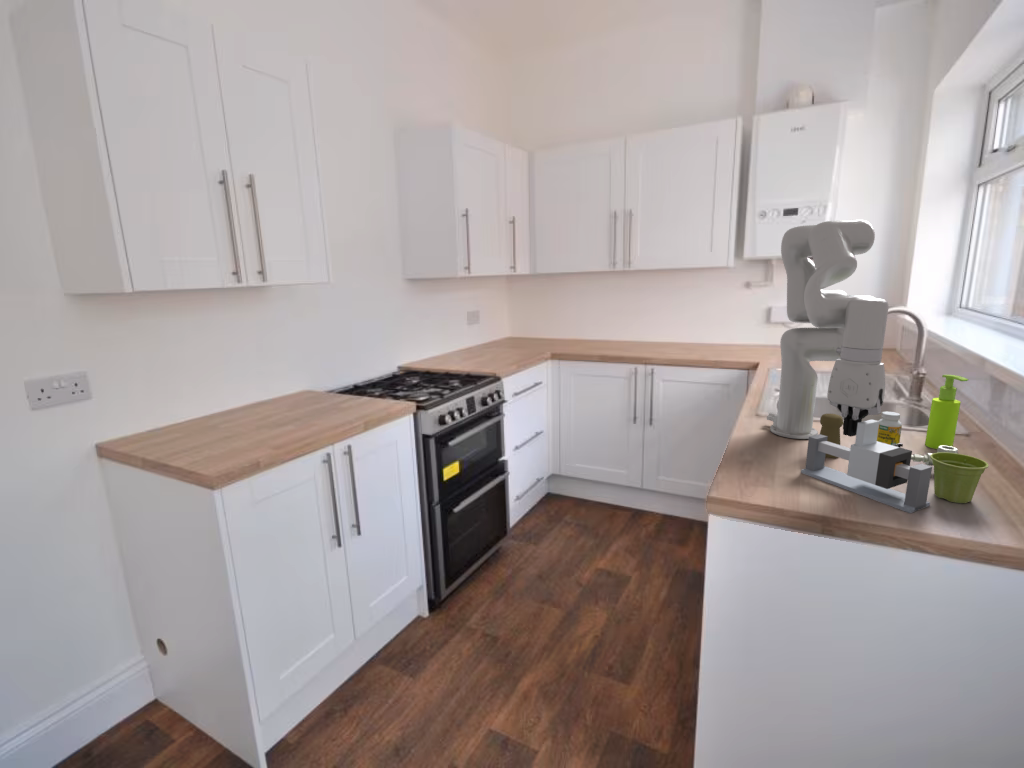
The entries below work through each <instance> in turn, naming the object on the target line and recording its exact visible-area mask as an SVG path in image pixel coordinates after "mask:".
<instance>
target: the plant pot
mask: <svg viewBox="0 0 1024 768" xmlns="http://www.w3.org/2000/svg"><path fill="white" fill-rule="evenodd" d="M930 458H931V459H932V463H933V465H932V466H933V478H934V479H933V481H934V482H933V483H934V485H933V489H934V490H933V491H934V495H935V496H936V497H937V498H939V499H945V500H947V502H951V503H956V504H957V503H958V504H967V503H968V502H972V500H973V498H974V496H975V491H976V489H977V487H978V484H979V482H980V480H981V476H982V475H983V474H984V472H985V470H986V469H988V468H989V463H988V462H987V461H985V460H983V459H980V458H978V457H974V456H972V455H968V454H962V453H958V452H957V453H948V452H938V453H937V452H933V453H932V454H931V455H930Z"/></svg>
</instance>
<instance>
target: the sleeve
mask: <svg viewBox="0 0 1024 768" xmlns="http://www.w3.org/2000/svg"><path fill="white" fill-rule="evenodd" d="M878 428H879V420H877V419H873V418H872V419H868V420H862V422H858V425H857V433H856V436H855V440H854V441H855V442H854V443H852V444H850V447H849V448H850V456H849V461H848V465H847V473H846V474H847V475H848V476H851V477H854V478H856V479H859V480H862V481H865V482H868V483H871V484H874V485H875V482H876V475H877V468H878V461H879V455H880V453H882V452H886V451H889V450H893V449H896V448H901V446H900V447H896V446H893V445H889V444H885V443H882V442H878V441H877V435H878Z"/></svg>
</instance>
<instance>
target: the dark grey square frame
mask: <svg viewBox="0 0 1024 768" xmlns="http://www.w3.org/2000/svg"><path fill="white" fill-rule="evenodd" d="M911 456H913V451H912V450H910V449H906V448H903V447H900V448H896V449H893V450H889V451H886V452H882V453H880V455H879V461H878V468H877V475H876V482H875V485H877V486H880V487H882V488H885V489H889V488H890V489H892V488H895V487H897V486H898V487H899V486H901V485H904V484H907V483H908V479H905V478H901V477H898V476H894V469H895V463H896V462H903V464H905V465H908V466H911V461H912V460H911Z"/></svg>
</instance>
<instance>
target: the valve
mask: <svg viewBox="0 0 1024 768" xmlns="http://www.w3.org/2000/svg"><path fill="white" fill-rule="evenodd" d="M894 446H896V447H900V448H903V446H904V445H903V443H897V444H894ZM936 450H937V452H936V453H938V452H948V453H957V454H958V452H959V449H958V448H956V447H955V446H953V447H951V446H944V445H942V446H939V447H938V449H936ZM931 454H933V453H931V452H926V454H924V455H921V454H917V453H914V454H913V453H912V456H911V461H913V462H916V463H921V462H923V464H925V465H928V466H932V467H933V466H934V465H933V463H932V459H931V458H930V455H931Z"/></svg>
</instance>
